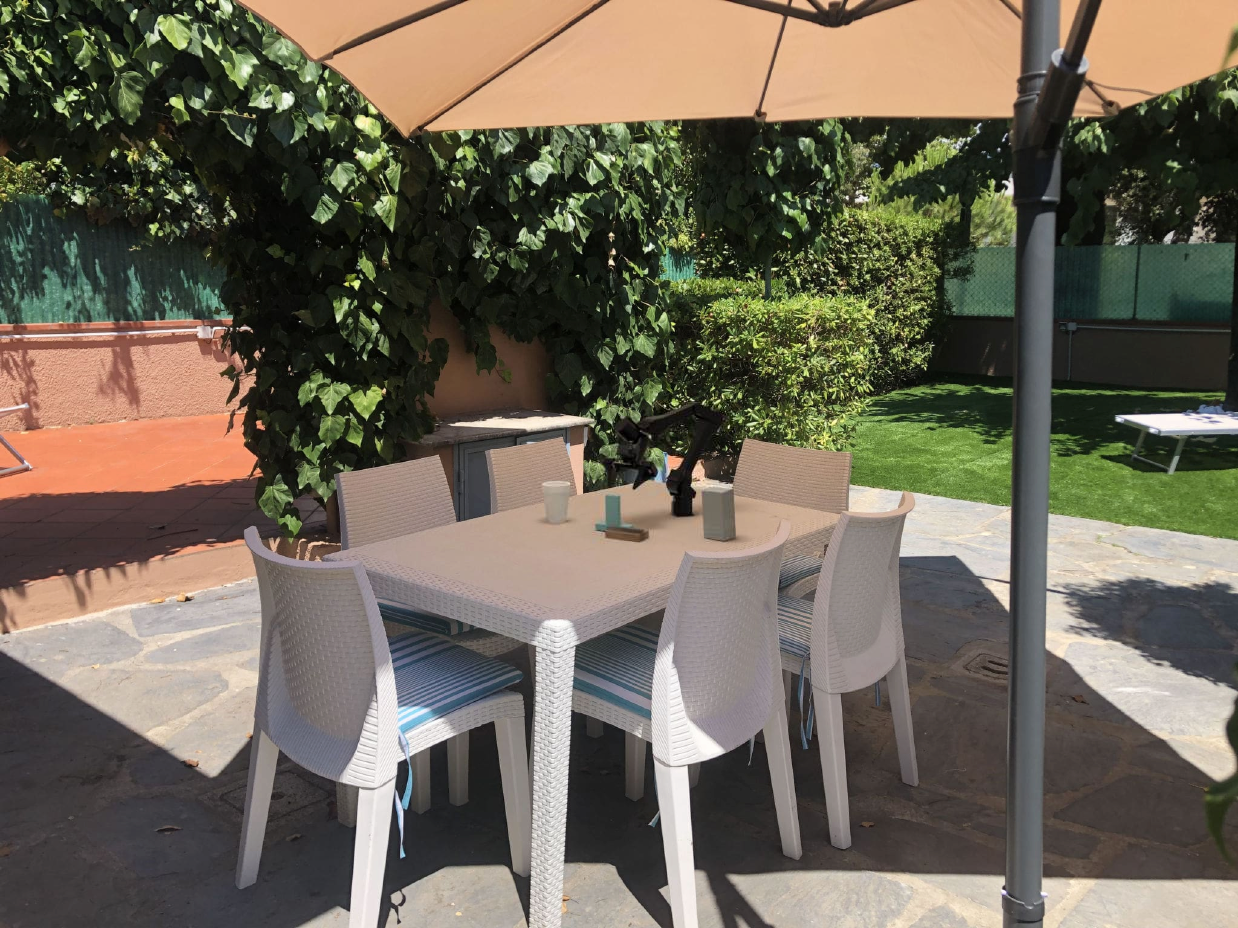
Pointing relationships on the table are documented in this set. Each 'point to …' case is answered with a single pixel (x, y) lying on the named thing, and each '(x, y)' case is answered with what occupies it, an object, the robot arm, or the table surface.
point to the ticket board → (626, 533)
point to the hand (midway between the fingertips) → (620, 488)
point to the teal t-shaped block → (612, 513)
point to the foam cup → (556, 500)
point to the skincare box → (718, 513)
